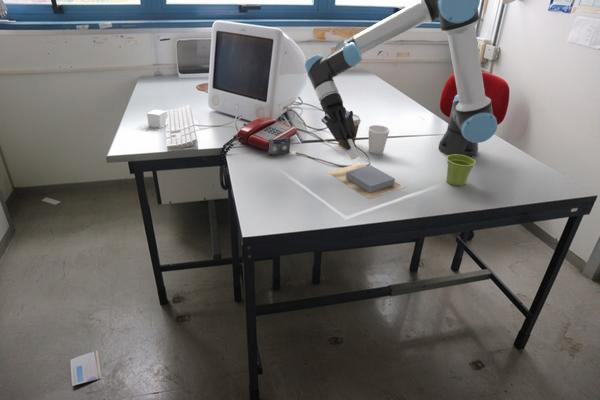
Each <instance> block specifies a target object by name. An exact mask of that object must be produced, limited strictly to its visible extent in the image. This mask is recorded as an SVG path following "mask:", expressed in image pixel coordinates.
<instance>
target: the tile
mask: <svg viewBox="0 0 600 400" xmlns="http://www.w3.org/2000/svg"><path fill="white" fill-rule="evenodd" d="M346 179H348V180H350V181H351V182H353V183H354V184H356V185H358V186H359V187H361V188H362V189H364V190H366V191H367V192H369V193H371V192H374V191H377V190H380V189H383V188H386V187H389V186H392V185H394V182H396V178H395V177H393V176H392V175H389V174H388V173H386V172H384V171H383V170H380V169H378V168H376V167H375V166H373V165H371V164H370V165H366V167H362V168H359V169H355V170H351V171H348V172H346Z"/></svg>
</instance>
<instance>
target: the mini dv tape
mask: <svg viewBox="0 0 600 400" xmlns="http://www.w3.org/2000/svg"><path fill="white" fill-rule="evenodd" d="M268 143H269V150H268V149H267V150H268V152H267V154H268V155H269V156H270V154H272V155H278V154H289V153H290V152H291V151H290V150H291V149H290V147H291V138H290V137H289V136H287V137H277V138H270V139H268ZM288 152H289V153H288Z"/></svg>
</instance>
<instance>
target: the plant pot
mask: <svg viewBox="0 0 600 400" xmlns="http://www.w3.org/2000/svg"><path fill="white" fill-rule="evenodd" d="M446 161H447V169H446V170H447V171H446V172H447V173H446V181H447V183H448V184H449V185H452V186H454V187H455V186H460V187H462V186H464V185H465V184H466V181H467V179H468V177H469V175H470V172H471V170H472V168H473V167H474V166H475V164H476V162H477V161H476V160H475V159H474V158H473V157H468V156H465V155H459V154H453V155H447V156H446Z"/></svg>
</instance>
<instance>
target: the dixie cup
mask: <svg viewBox="0 0 600 400" xmlns="http://www.w3.org/2000/svg"><path fill="white" fill-rule="evenodd" d="M367 130H368V152H369V153H372V154H374V155H375V154H376V155H377V154H380V155H383V154H384V151H385V148H386V144H387V140H388V136H389V133H390V131H391V129H390V128H389V127H388V126H384V125H380V124H379V125H378V124H373V125H370V126H368V127H367Z"/></svg>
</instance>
